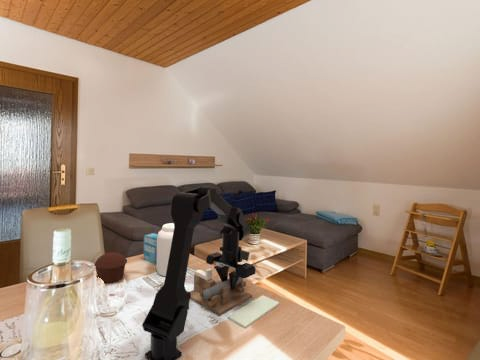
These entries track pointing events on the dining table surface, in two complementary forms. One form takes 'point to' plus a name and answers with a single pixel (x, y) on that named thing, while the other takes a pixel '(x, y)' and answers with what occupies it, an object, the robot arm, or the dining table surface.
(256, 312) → the mat
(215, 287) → the grey rod
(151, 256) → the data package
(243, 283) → the cradle
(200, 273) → the beige wooden bar
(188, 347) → the dining table surface
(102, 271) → the muffin
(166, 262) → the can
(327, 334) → the dining table surface
